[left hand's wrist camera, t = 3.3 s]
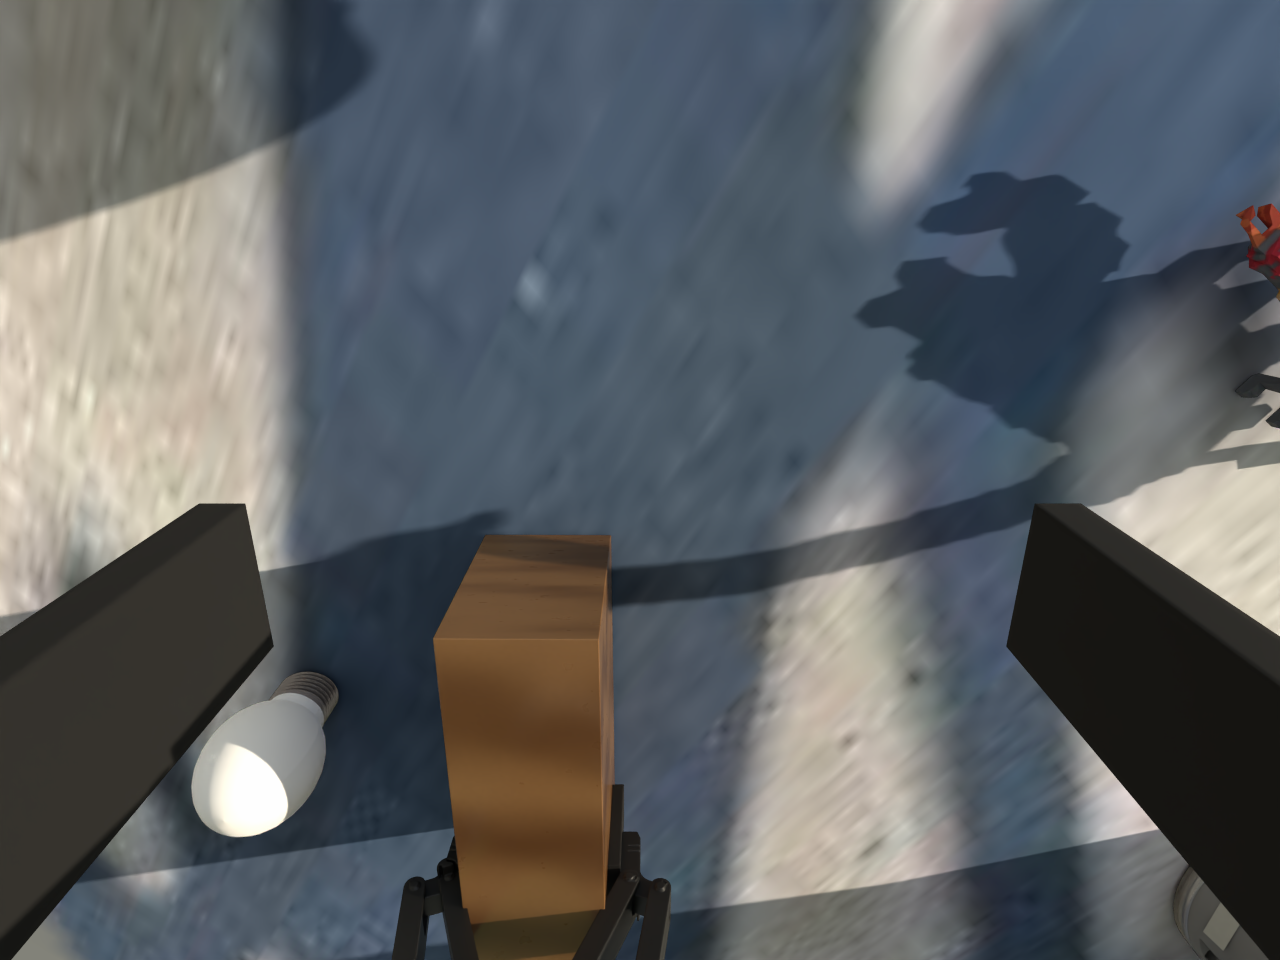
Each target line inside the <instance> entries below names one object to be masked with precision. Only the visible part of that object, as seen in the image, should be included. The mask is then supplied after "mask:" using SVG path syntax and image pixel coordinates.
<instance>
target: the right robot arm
mask: <svg viewBox="0 0 1280 960" xmlns="http://www.w3.org/2000/svg"><path fill="white" fill-rule="evenodd" d="M623 827H624V785H612V801H611V817H610V833H609V850H608V896H607V898H606V901H605V909H600V910H599V912H598V914H597V916H596V918H595V919H594V921H593V923H592V925H591V927H590V928H589V930H588V932H587V934H586V936H585V937H584V939H583V941H582V943H581V945H580V946H579V948H578V950H577V952H576V954H575V955H574V957H573V959H572V960H615V958H616V956H617V954H618V952H619V950H620V948H621V946H622V944H623V942H624V940H625V938H626V936H627V934H628V932H629V930H630V928H631V926H632V924H633V922H634V920H635V918H636V917H637V921H639V918H640V915H642V916H644V920H643V925H642V930H641V935H640V940H639V945H638V951H637V956H636V960H664V957H665V951H666V945H667V938H668V932H669V925H670V913H671V885H670V883H669V881H667V880H666V879H663V878H657V879H655V880H653V881H649V880H647V879H645V878H644V877H643V876H642V875H641V873H640V837H639V834H638V832H623ZM437 873H438V876H437V877H435V878H433V879H430V880H426V881H425V880H424V879H423V878H422V877H413V878H411V879H409V880H408V881H407V882H406V883H405V885H404V889H403V895H402V901H401V907H400V913H399V919H398V925H397V931H396V937H395V943H394V949H393V955H392V960H424V956H425V948H426V940H427V932H428V924H429V916H430V915H434V914H437V913H441V912H442V913H443V918H444V923H445V929H446V934H447V939H448V945H449V950H450V955H451V960H479V958H478V954H477V949H476V945H475V940H474V936H473V931H472V927H471V922H470V918H469V913H468V909H467V908H463V906H462V897H461V888H460V879H459V870H458V861H457V852H456V843H455V836H454V837H453V840H452V843H451V846H450V850H449V853H448V856H447V858H445V859H443V860H441V861H440V862H439V864H438V865H437ZM1174 918H1175V921H1176V924H1177V927H1178V929H1179V931H1180V932H1181V934H1182V935H1183V937H1184V938H1185V939H1186V941H1187V942H1188V943H1189V945H1190V946H1191V947H1192V949H1193V950H1194V951H1195V953H1196V954H1197V955H1198V956H1199V957H1200V958H1201V959H1202V960H1269V959H1268V958H1267V957H1266V956H1265V955H1264V953H1263V952H1262V951H1261V950H1260V949H1259V947H1258V946H1257V945H1256V944H1255V943H1254V941H1253V940H1252V939H1251V938H1250V937H1249V935H1248V934H1247V933H1246V932H1245V931H1244V929H1243V928H1242V927H1241V926H1240V925H1239V924H1238V922H1237V921H1236V920H1235V919H1234V918H1233V916H1232V915H1231V914H1230V913H1229V912H1228V910H1227V909H1226V908H1225V907H1224V906H1223V904H1222V903H1221V902H1220V901H1219V900H1218V898H1217V897H1216V896H1215V895H1214V894H1213V892H1212V891H1211V890H1210V889H1209V888H1208V887H1207V885H1206V884H1205V883H1204V882H1203V881H1202V879H1201V878H1200V877H1199V876H1198V875H1197V873H1196V872H1195V871H1194V870H1193V869H1192V867H1191V866H1190V867H1189V868H1188V870H1187V871H1186V872H1185V874H1184V876H1183V877H1182V879H1181V881H1180V883H1179V885H1178V888H1177V891H1176V894H1175V898H1174Z"/></svg>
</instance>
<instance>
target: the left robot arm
mask: <svg viewBox="0 0 1280 960" xmlns="http://www.w3.org/2000/svg"><path fill="white" fill-rule="evenodd" d="M273 647H274V645H273V640H272V635H271V630H270V625H269V620H268V615H267V610H266V605H265V600H264V595H263V590H262V585H261V580H260V575H259V570H258V565H257V560H256V555H255V550H254V545H253V540H252V535H251V530H250V525H249V520H248V515H247V510H246V505H245V504H198V505H196V506H195V507H193V508H192V509H190V510H189V511H187V512H186V513H184V514H183V515H181V516H180V517H178V518H177V519H175V520H174V521H172V522H171V523H169V524H168V525H166V526H165V527H163V528H162V529H160V530H159V531H157V532H156V533H154V534H153V535H151V536H150V537H148V538H147V539H145V540H144V541H142V542H141V543H139V544H138V545H136V546H135V547H133V548H132V549H130V550H129V551H127V552H126V553H124V554H123V555H121V556H120V557H118V558H117V559H116V560H114V561H113V562H111V563H110V564H108V565H107V566H105V567H104V568H102V569H101V570H99V571H98V572H96V573H95V574H93V575H92V576H90V577H89V578H87V579H86V580H84V581H83V582H81V583H80V584H78V585H77V586H75V587H74V588H72V589H71V590H69V591H68V592H66V593H65V594H63V595H62V596H60V597H59V598H57V599H56V600H54V601H53V602H51V603H50V604H48V605H47V606H45V607H44V608H42V609H41V610H39V611H38V612H36V613H35V614H33V615H32V616H30V617H29V618H27V619H26V620H24V621H23V622H21V623H20V624H18V625H17V626H15V627H14V628H12V629H11V630H9V631H8V632H6V633H5V634H3V635H2V636H0V960H11V959H12V958H13V957H14V956H15V954H16V953H17V952H18V951H19V950H20V949H21V947H22V946H23V945H24V944H25V943H26V941H27V940H28V939H29V938H30V937H31V935H32V934H33V933H34V932H35V931H36V929H37V928H38V927H39V926H40V925H41V924H42V922H43V921H44V920H45V919H46V918H47V916H48V915H49V914H50V913H51V912H52V910H53V909H54V908H55V907H56V906H57V904H58V903H59V902H60V901H61V900H62V898H63V897H64V896H65V895H66V894H67V892H68V891H69V890H70V889H71V888H72V887H73V885H74V884H75V883H76V882H77V881H78V879H79V878H80V877H81V876H82V875H83V873H84V872H85V871H86V870H87V869H88V867H89V866H90V865H91V864H92V863H93V861H94V860H95V859H96V858H97V857H98V855H99V854H100V853H101V852H102V851H103V850H104V848H105V847H106V846H107V845H108V844H109V842H110V841H111V840H112V839H113V838H114V836H115V835H116V834H117V833H118V832H119V830H120V829H121V828H122V827H123V826H124V824H125V823H126V822H127V821H128V820H129V818H130V817H131V816H132V815H133V814H134V813H135V811H136V810H137V809H138V808H139V807H140V805H141V804H142V803H143V802H144V801H145V799H146V798H147V797H148V796H149V795H150V793H151V792H152V791H153V790H154V789H155V787H156V786H157V785H158V784H159V783H160V781H161V780H162V779H163V778H164V777H165V776H166V774H167V773H168V772H169V771H170V770H171V768H172V767H173V766H174V765H175V764H176V762H177V761H178V760H179V759H180V758H181V756H182V755H183V754H184V753H185V752H186V750H187V749H188V748H189V747H190V746H191V744H192V743H193V742H194V741H195V740H196V738H197V737H198V736H199V735H200V734H201V733H202V731H203V730H204V729H205V728H206V727H207V725H208V724H209V723H210V722H211V721H212V719H213V718H214V717H215V716H216V715H217V713H218V712H219V711H220V710H221V709H222V707H223V706H224V705H225V704H226V703H227V701H228V700H229V699H230V698H231V697H232V696H233V694H234V693H235V692H236V691H237V690H238V688H239V687H240V686H241V685H242V684H243V682H244V681H245V680H246V679H247V678H248V676H249V675H250V674H251V673H252V672H253V670H254V669H255V668H256V667H257V666H258V664H259V663H260V662H261V661H262V660H263V659H264V657H265V656H266V655H267V654H268V653H269V651H270V650H271V649H272V648H273ZM1006 647H1007V648H1008V649H1009V650H1010V651H1011V653H1012V654H1013V655H1014V656H1015V657H1016V659H1017V660H1018V661H1019V662H1020V663H1021V664H1022V666H1023V667H1024V668H1025V669H1026V670H1027V672H1028V673H1029V674H1030V675H1031V676H1032V678H1033V679H1034V680H1035V681H1036V682H1037V684H1038V685H1039V686H1040V687H1041V688H1042V690H1043V691H1044V692H1045V693H1046V694H1047V696H1048V697H1049V698H1050V699H1051V700H1052V701H1053V703H1054V704H1055V705H1056V706H1057V707H1058V709H1059V710H1060V711H1061V712H1062V713H1063V715H1064V716H1065V717H1066V718H1067V719H1068V721H1069V722H1070V723H1071V724H1072V725H1073V727H1074V728H1075V729H1076V730H1077V731H1078V733H1079V734H1080V735H1081V736H1082V737H1083V738H1084V740H1085V741H1086V742H1087V743H1088V744H1089V746H1090V747H1091V748H1092V749H1093V750H1094V752H1095V753H1096V754H1097V755H1098V756H1099V758H1100V759H1101V760H1102V761H1103V762H1104V764H1105V765H1106V766H1107V767H1108V768H1109V770H1110V771H1111V772H1112V773H1113V774H1114V776H1115V777H1116V778H1117V779H1118V780H1119V781H1120V783H1121V784H1122V785H1123V786H1124V787H1125V789H1126V790H1127V791H1128V792H1129V793H1130V795H1131V796H1132V797H1133V798H1134V799H1135V801H1136V802H1137V803H1138V804H1139V805H1140V807H1141V808H1142V809H1143V810H1144V811H1145V813H1146V814H1147V815H1148V816H1149V817H1150V818H1151V820H1152V821H1153V822H1154V823H1155V824H1156V826H1157V827H1158V828H1159V829H1160V830H1161V832H1162V833H1163V834H1164V835H1165V836H1166V838H1167V839H1168V840H1169V841H1170V842H1171V844H1172V845H1173V846H1174V847H1175V848H1176V850H1177V851H1178V852H1179V853H1180V854H1181V855H1182V857H1183V858H1184V859H1185V860H1186V861H1187V863H1188V864H1189V865H1190V866H1191V867H1192V869H1193V870H1194V871H1195V872H1196V873H1197V875H1198V876H1199V877H1200V878H1201V879H1202V881H1203V882H1204V883H1205V884H1206V885H1207V887H1208V888H1209V889H1210V890H1211V891H1212V892H1213V894H1214V895H1215V896H1216V897H1217V898H1218V900H1219V901H1220V902H1221V903H1222V904H1223V906H1224V907H1225V908H1226V909H1227V910H1228V912H1229V913H1230V914H1231V915H1232V916H1233V918H1234V919H1235V920H1236V921H1237V922H1238V924H1239V925H1240V926H1241V927H1242V928H1243V929H1244V931H1245V932H1246V933H1247V934H1248V935H1249V937H1250V938H1251V939H1252V940H1253V941H1254V943H1255V944H1256V945H1257V946H1258V947H1259V949H1260V950H1261V951H1262V952H1263V953H1264V955H1265V956H1266V957H1267V958H1268V959H1269V960H1280V636H1278V635H1277V634H1275V633H1274V632H1272V631H1271V630H1269V629H1268V628H1266V627H1265V626H1263V625H1262V624H1260V623H1259V622H1257V621H1256V620H1254V619H1253V618H1251V617H1250V616H1248V615H1247V614H1245V613H1244V612H1242V611H1241V610H1239V609H1238V608H1236V607H1235V606H1233V605H1232V604H1230V603H1229V602H1227V601H1226V600H1224V599H1223V598H1221V597H1220V596H1218V595H1217V594H1215V593H1214V592H1212V591H1211V590H1209V589H1208V588H1206V587H1205V586H1203V585H1202V584H1200V583H1199V582H1197V581H1196V580H1194V579H1193V578H1191V577H1190V576H1188V575H1187V574H1185V573H1184V572H1182V571H1181V570H1179V569H1178V568H1176V567H1175V566H1173V565H1172V564H1170V563H1169V562H1167V561H1166V560H1164V559H1163V558H1161V557H1160V556H1159V555H1157V554H1156V553H1154V552H1153V551H1151V550H1150V549H1148V548H1147V547H1145V546H1144V545H1142V544H1141V543H1139V542H1138V541H1136V540H1135V539H1133V538H1132V537H1130V536H1129V535H1127V534H1126V533H1124V532H1123V531H1121V530H1120V529H1118V528H1117V527H1115V526H1114V525H1112V524H1111V523H1109V522H1108V521H1106V520H1105V519H1103V518H1102V517H1100V516H1099V515H1097V514H1096V513H1094V512H1093V511H1091V510H1090V509H1088V508H1087V507H1085V506H1084V505H1082V504H1035V505H1034V510H1033V515H1032V520H1031V525H1030V530H1029V535H1028V540H1027V545H1026V550H1025V555H1024V560H1023V565H1022V570H1021V575H1020V580H1019V585H1018V590H1017V595H1016V600H1015V605H1014V610H1013V615H1012V620H1011V625H1010V630H1009V635H1008V640H1007V645H1006Z"/></svg>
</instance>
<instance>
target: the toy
mask: <svg viewBox="0 0 1280 960" xmlns="http://www.w3.org/2000/svg"><path fill="white" fill-rule="evenodd" d="M1236 216H1238V217H1239V218H1241V219H1242V221H1241V223H1240V224H1241V226H1242V227H1243V228H1244V229H1245V231H1246V232H1247V233H1248V235H1249V238H1250V240H1251V243H1252V244H1251V245H1250V246H1249V247H1248V254H1247V257H1248V258H1249V268H1251V269H1253V270H1255V271H1258V272H1260V273H1262V274H1263V275H1264V276H1265V277H1266V278H1267V279H1268V280H1269V281H1270V282H1271V283H1272V284H1273V285H1274V286H1275V287H1276V288H1277V289H1278V290H1279V292H1278V294H1277V296H1276V298H1277V299H1278V300H1279V301H1280V213H1279V212H1278V210H1277V209H1276V208H1275V207H1274V206H1273V205H1272V204H1268V205H1265V206H1261V207H1258V213H1257V216H1258V218H1259V219H1260V220H1261V221H1262V222H1263V223H1264V224H1265V225H1266V226H1267V228H1268V229H1267V230H1266V231H1265V232H1264V233H1263V234H1261V233H1260V232H1259V231H1258V230H1257V228H1256V227H1255V226H1254V225H1253V224H1252V223H1251V222H1250V221H1251V220H1252V219H1253V218H1254V216H1255V211H1254V207H1253V206H1251V207H1249V208H1247V209H1246V210H1244V211H1242V212H1240V213H1238V214H1237V215H1236ZM1265 389H1268V390H1271V391H1275V392H1278V393H1280V378H1278V377H1273V376H1268V375H1264V374H1256V375H1252V376H1251V377H1250V378H1249V379H1248V380H1247V381H1246V382H1245V383H1243V384H1242V385H1241V386H1240V387H1239V388H1238V389H1237V390H1236V392H1237V393H1238V394H1239V395H1240V396H1241V397H1248V398H1252V397H1258V396H1259V395H1260V394H1261V393H1262V392H1263V391H1264V390H1265ZM1266 422H1267V423H1268V424H1270V425H1271V426H1272V427H1276V428H1280V408H1279V409H1278V410H1277V411H1276V412H1275V413H1273V414H1272V415H1271V416H1270V417H1269V418H1268V419H1267V420H1266Z"/></svg>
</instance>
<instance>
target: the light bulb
mask: <svg viewBox="0 0 1280 960" xmlns="http://www.w3.org/2000/svg"><path fill="white" fill-rule="evenodd" d="M337 701H338V690H337V688H336V686H335V684H334V683H333V682H332V681H331V680H330V679H328V678H327V677H325V676H323V675H321V674H318V673H314V672H300V673H296V674H293V675H291V676H289V677H287V678H286V679H285V680H284V681H283V682H282V683H281V684H280V686H279V687H278V688H277V690H276V691H275V692H274V694H273V695H272V696H271V698H270V699H269V700H268V701H263V702H260V703H256V704H254V705H251V706H249V707H247V708H245V709H243V710H241V711H239V712H237V713H236V714H235V715H233V716H232V717H230V718H229V719H228V720H227V721H225V722H224V723H223V724H222V725H221V726H220V727H219V728H218V729H217V730H216V731H215V732H214V733H213V735H212V736H211V737H210V739H209V740H208V742H207V743H206V745H205V746H204V748H203V749H202V751H201V753H200V756H199V758H198V761H197V763H196V765H195V768H194V773H193V778H192V786H191V788H192V798H193V804H194V807H195V809H196V811H197V813H198V815H199V817H200V818H201V820H202V821H203V822H204V823H205V824H206V826H208V827H209V828H210V829H212V830H214V831H215V832H217V833H220V834H222V835H226V836H230V837H244V836H253V835H257V834H260V833H263V832H265V831H268V830H270V829H272V828H274V827H277V826H278V825H279V824H281V823H282V822H284V821H285V820H287V819H288V818H289V817H291V816H292V815H293V814H294V813H295V812H296V811H297V810H298V809H299V808H300V807H301V806H302V805H303V804H304V803H305V801H306V800H307V799H308V797H309V796H310V795H311V793H312V792H313V790H314V788H315V786H316V784H317V782H318V780H319V778H320V775H321V773H322V770H323V766H324V761H325V756H326V743H325V735H324V732H323V729H322V727H323V725H324V723H325V722H326V720H327V718H328V717H329V715H330V713H331V712H332V710H333V709H334V707H335V705H336V704H337Z"/></svg>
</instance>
